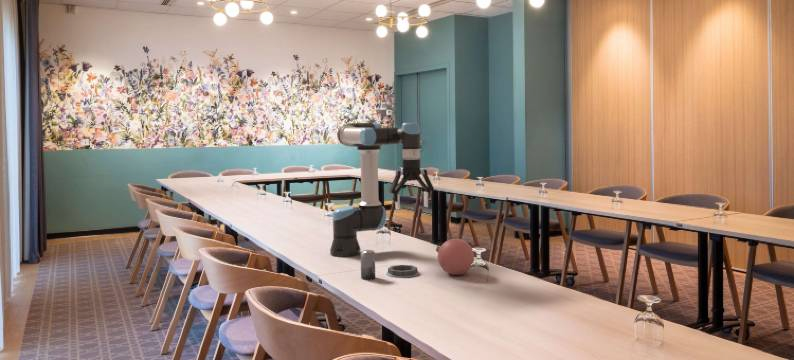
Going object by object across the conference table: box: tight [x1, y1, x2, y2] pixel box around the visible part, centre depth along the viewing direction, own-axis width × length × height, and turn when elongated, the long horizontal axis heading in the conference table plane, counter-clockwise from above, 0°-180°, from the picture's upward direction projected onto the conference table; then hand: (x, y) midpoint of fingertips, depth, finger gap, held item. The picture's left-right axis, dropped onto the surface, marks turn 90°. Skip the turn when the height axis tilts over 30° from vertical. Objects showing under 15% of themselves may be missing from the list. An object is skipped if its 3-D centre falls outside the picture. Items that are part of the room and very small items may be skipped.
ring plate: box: [386, 264, 420, 279], centre depth 266 cm, size 14×14×2 cm
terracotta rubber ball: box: [435, 238, 475, 276], centre depth 265 cm, size 15×20×15 cm
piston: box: [360, 249, 376, 281], centre depth 259 cm, size 6×6×11 cm
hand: (412, 208), depth 267 cm, fingers open, 13 cm apart
